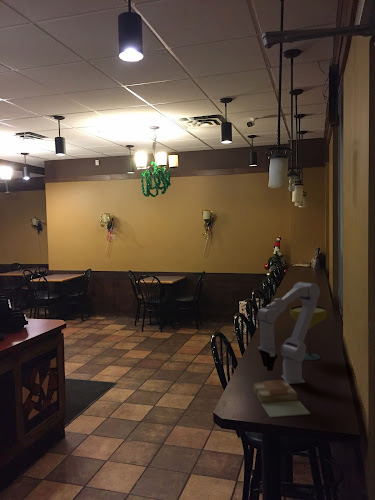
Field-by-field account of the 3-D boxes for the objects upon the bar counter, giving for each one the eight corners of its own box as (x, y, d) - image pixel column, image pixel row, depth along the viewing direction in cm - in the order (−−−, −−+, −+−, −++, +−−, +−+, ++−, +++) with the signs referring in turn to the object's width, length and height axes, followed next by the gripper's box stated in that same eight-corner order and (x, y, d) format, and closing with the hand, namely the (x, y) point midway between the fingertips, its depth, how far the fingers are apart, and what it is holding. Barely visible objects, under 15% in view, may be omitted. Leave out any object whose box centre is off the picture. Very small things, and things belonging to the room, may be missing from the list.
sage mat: (261, 404, 160) (261, 403, 160) (299, 401, 161) (299, 400, 161) (269, 417, 149) (269, 416, 149) (310, 414, 150) (310, 413, 150)
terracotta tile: (263, 385, 170) (263, 381, 170) (280, 384, 171) (280, 379, 171) (270, 394, 161) (270, 389, 161) (287, 393, 162) (287, 388, 162)
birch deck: (253, 390, 174) (252, 383, 174) (285, 387, 176) (285, 380, 175) (262, 404, 160) (262, 396, 160) (297, 401, 162) (297, 393, 161)
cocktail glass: (284, 358, 214) (283, 310, 212) (302, 349, 226) (301, 304, 225) (317, 365, 201) (316, 314, 200) (334, 356, 214) (333, 308, 212)
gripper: (253, 332, 181) (254, 363, 182) (262, 341, 167) (263, 375, 168) (269, 331, 182) (270, 362, 183) (279, 340, 168) (280, 373, 168)
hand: (268, 368), depth 175 cm, fingers open, 5 cm apart
